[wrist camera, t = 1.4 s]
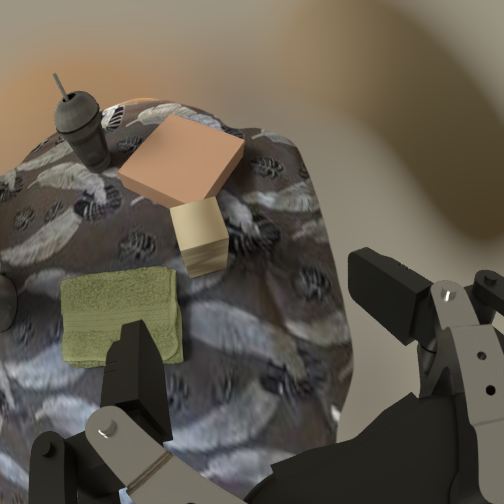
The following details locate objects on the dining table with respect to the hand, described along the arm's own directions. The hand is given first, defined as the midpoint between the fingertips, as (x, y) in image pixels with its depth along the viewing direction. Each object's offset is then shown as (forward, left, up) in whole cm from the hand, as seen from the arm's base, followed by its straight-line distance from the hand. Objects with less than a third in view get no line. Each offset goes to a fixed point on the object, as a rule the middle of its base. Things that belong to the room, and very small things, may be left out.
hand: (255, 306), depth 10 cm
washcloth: (-14, -5, -26) cm, 30 cm away
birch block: (-8, +8, -25) cm, 28 cm away
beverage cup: (-33, +14, -26) cm, 44 cm away
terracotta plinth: (-18, +19, -25) cm, 37 cm away
